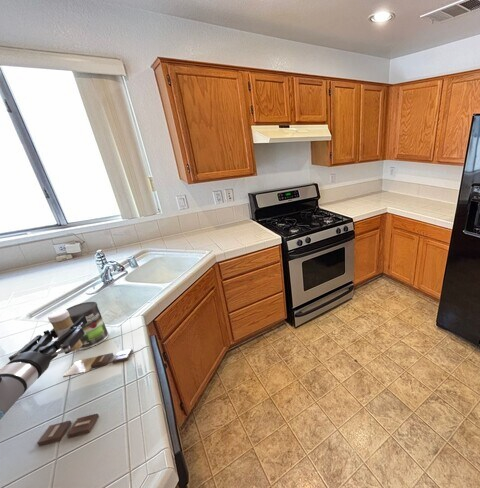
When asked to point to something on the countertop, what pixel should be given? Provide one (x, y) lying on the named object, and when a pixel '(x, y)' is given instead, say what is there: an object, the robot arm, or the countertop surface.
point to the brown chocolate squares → (59, 430)
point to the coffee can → (89, 323)
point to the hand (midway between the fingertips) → (75, 320)
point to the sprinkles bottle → (63, 325)
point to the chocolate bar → (97, 362)
